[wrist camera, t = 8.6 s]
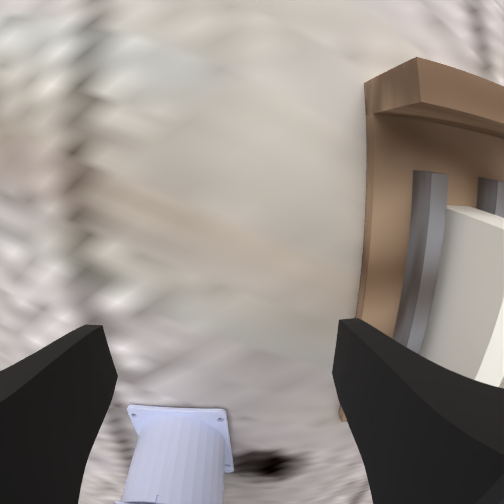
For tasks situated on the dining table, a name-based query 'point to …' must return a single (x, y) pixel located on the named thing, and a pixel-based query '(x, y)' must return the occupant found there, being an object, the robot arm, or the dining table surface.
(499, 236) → the door panel
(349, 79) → the dining table surface
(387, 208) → the board
